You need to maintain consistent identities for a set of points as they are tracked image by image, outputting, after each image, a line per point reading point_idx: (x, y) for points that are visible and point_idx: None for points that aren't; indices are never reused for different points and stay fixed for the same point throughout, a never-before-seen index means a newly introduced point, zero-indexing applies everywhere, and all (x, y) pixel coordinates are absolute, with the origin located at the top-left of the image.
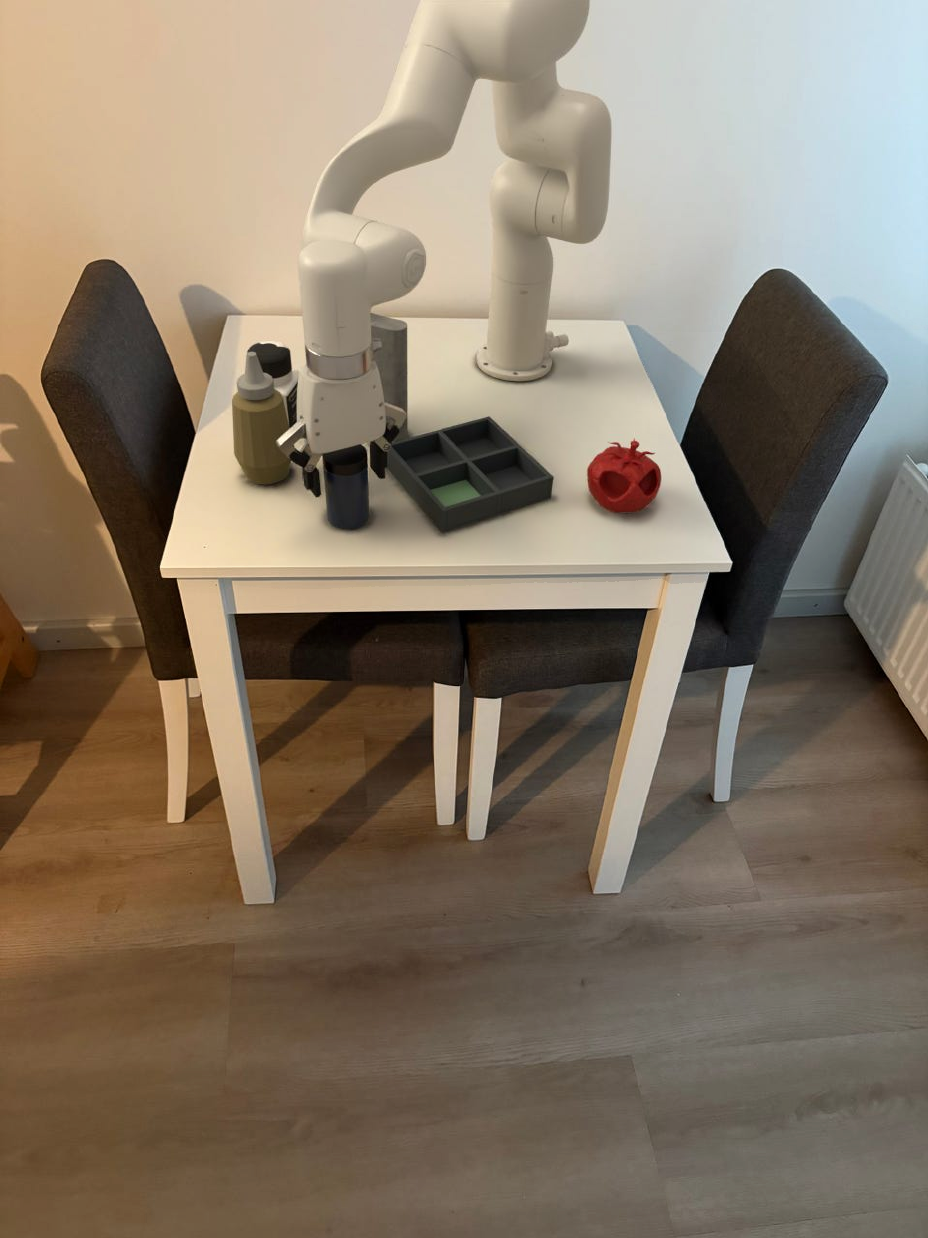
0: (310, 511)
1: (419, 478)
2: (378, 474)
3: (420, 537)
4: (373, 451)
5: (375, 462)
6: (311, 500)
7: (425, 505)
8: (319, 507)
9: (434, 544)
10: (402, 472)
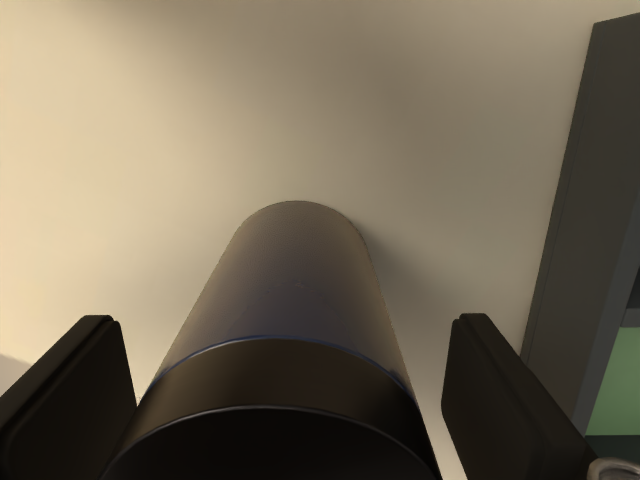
0: (185, 184)
1: (612, 344)
2: (447, 412)
3: (441, 425)
4: (504, 473)
5: (472, 429)
6: (208, 120)
7: (537, 371)
8: (223, 176)
9: (456, 457)
10: (598, 215)
